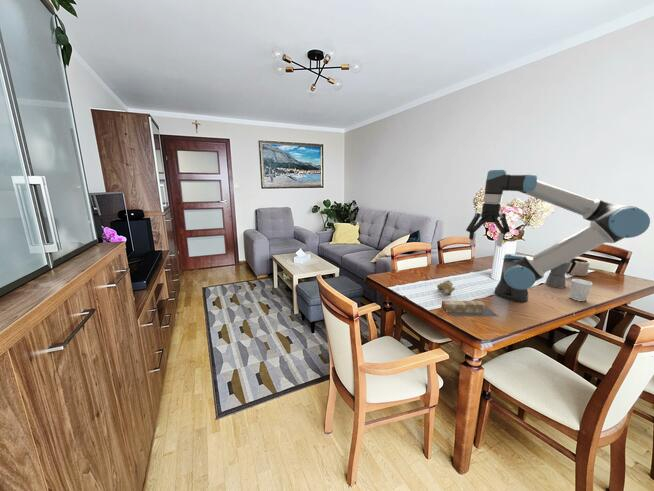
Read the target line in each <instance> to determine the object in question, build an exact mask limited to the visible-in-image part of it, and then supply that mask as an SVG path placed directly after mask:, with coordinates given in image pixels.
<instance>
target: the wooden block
mask: <svg viewBox="0 0 654 491" xmlns="http://www.w3.org/2000/svg"><path fill="white" fill-rule="evenodd" d="M484 305H485V304H484V303H483V302H482V301H480V300H441V307H440V308H441V310H442V311H443V312H444V313H450V312H477V313H483V311H484Z"/></svg>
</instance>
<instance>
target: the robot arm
mask: <svg viewBox="0 0 654 491" xmlns="http://www.w3.org/2000/svg"><path fill="white" fill-rule="evenodd" d="M506 191H507V192H509V191H511V192H518V193H522V194H524V195H527V196H530V197H533V198H535V199H538V200H540V201H543V202H546V203H548V204H551V205H554V206H556V207H558V208H562V209H565V210H566V211H569V212H572V213H575V214H577V215H579V216H582V219H584V220H586V221H588V222H589V226H587V227H585V228H583V229H581V230H580V231H578V232H575V233H574V234H572V235H571V236H569V237H566V238H564V239H562V240H560V241H559V242H558V243H557V242H556V243H555V244H553V245H551V246H549V247H547V248H546V249H544V250H542V251H540V252H538V253H537V254H535V255H533V256H528V255H524V254H517V253H505V254H504V256H503V258H502V259H503V262H502V267H501V275H500V280H499V281H498V284H497V285H496V286H495V288H494V292H493V294H494V295H495V296H496V297H498V298H501V299H504V300H507V301H511V302H514V303H515V302H518V303H523V302H527V301H528V299H529V291H528V290H529V289H530V288H532V287H533V286H534V284H535V283H536V282H538V281H540V280H541V279H542V278H544V277H545V274H546V273H547V272H549V271H551V269H553V268H555V267H557V266H559V265H561V264H563V263H565V262H567V261H569V260H571V259H574V258H578V257H579V256H582V255H583V254H586V253H588V252H589V251H592V250H594V249H596V248H598V247H600V246H602V245H603V244H615V243H617V242H619V241H621V240H624V239H630V238H636V237H639V236H641V235H642V234H644V233H645V232H647V230H648V229H649V227H650V224H651V218H650V215H649V214H648V213H647V212H646V211H645V210H643V209H641V208H639V207H637V206H632V205H626V204H619V203H614V202H613V203H612V202H608V201H604V200H601V199H591V198H588V197H586V196H583V195H580V194H578V193H574V192H573V191H568V190H566V189H564V188H560V187H557V186H554V185H551V184H549V183H546V182H543V181H541V180H538V175H537V174H533V173H532V174H531V173H522V174H521V173H518V174H517V173H515V174H513V173H512V174H511V173H507V170H506V169H489V171H487V175H486V179H485V187H484V194H483V200H482V201H483V203H482V206H481V207H482V208H481V213H479V212H475V213H474V216H473V218H472V220H471V221H470V223H469V224H468V226H467V227H466V228H465V230H466V232H468V233H469V236H468V237H469V238H468V239H469V246H471V247H474V246H475V242H476V234H477V233H476V231H477V230H479V229H480V228H481V227H482V226H483V225H484V224H485V223H494V225H495V226H496V227H497V229H498V231H499V232H498V235H497V241H496V246H498V247H499V248H502V246H503V240H504V239H505V237H506V236H505V235H507V234H508V233H510V232H511V230H510V227H509V223H508V221H507V218H506V217H507V213H505V212H501V206H502V205H501V203H502V200H503V192H506ZM500 212H501V213H500ZM499 219H500V220H499ZM500 221H501V223H500Z"/></svg>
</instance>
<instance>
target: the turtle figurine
mask: <svg viewBox="0 0 654 491" xmlns="http://www.w3.org/2000/svg"><path fill="white" fill-rule="evenodd" d="M453 285H454V284H453V283H452V281H450V280H445V281H443V282H441V283H439V284H437V285H436V287H437V290H438V291H443V292H444V294H446V295H447V294H448V295H450V296H451V295H452V292H453V291H455V289H456V288H455V287H453Z"/></svg>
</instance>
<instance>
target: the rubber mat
mask: <svg viewBox="0 0 654 491" xmlns="http://www.w3.org/2000/svg"><path fill="white" fill-rule="evenodd" d="M449 313H450V315H451V316H452V317H499V315H498V314H497V313H495V312H494V311H493V310H492V309H491V308H489V307H488V306H487V305H485V304H484V311H483V313H477V312H449Z"/></svg>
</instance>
